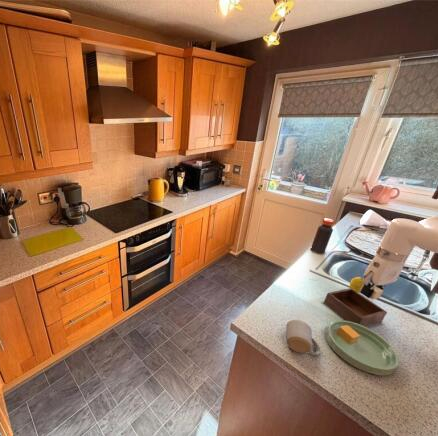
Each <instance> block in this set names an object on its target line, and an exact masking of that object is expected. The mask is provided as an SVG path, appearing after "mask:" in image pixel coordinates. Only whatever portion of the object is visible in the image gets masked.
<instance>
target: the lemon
mask: <svg viewBox="0 0 438 436" xmlns="http://www.w3.org/2000/svg"><path fill="white" fill-rule="evenodd" d="M363 279H364V277H360V276H356V277H353V278H352V279H351V280H350V282H349V288H352V289H353V290H355V291H356V292H358V293H360V289H361V287H362V285H363V284H364V283H362V280H363Z"/></svg>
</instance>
